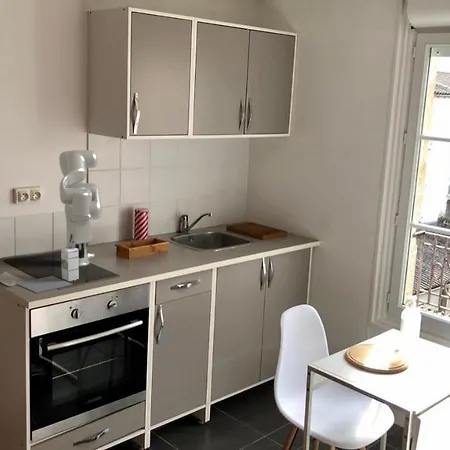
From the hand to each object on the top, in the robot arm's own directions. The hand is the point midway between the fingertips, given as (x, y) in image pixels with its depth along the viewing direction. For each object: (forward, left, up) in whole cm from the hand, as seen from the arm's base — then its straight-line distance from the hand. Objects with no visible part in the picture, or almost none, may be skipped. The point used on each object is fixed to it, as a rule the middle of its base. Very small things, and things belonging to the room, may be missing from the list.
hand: (80, 257), depth 284 cm
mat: (+19, 0, -9) cm, 21 cm away
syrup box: (+6, 0, -9) cm, 11 cm away
